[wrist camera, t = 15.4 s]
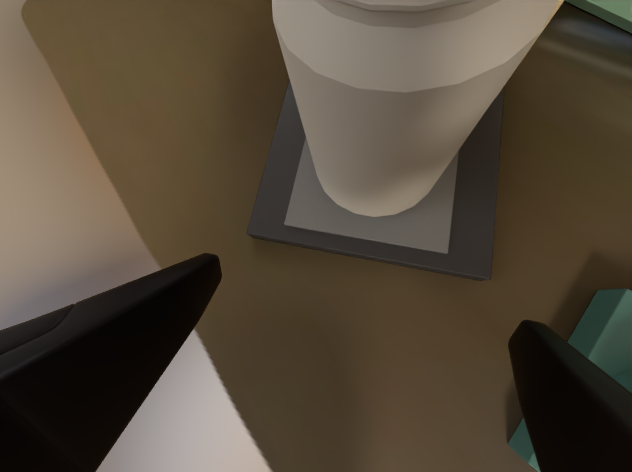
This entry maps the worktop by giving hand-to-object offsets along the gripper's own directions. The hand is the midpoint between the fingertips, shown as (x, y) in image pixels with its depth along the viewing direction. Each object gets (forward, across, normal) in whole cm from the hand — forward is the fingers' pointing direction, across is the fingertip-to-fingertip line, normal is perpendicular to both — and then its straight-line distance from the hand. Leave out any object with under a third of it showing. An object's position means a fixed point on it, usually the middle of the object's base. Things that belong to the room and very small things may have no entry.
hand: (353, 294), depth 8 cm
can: (+12, 0, -1) cm, 12 cm away
